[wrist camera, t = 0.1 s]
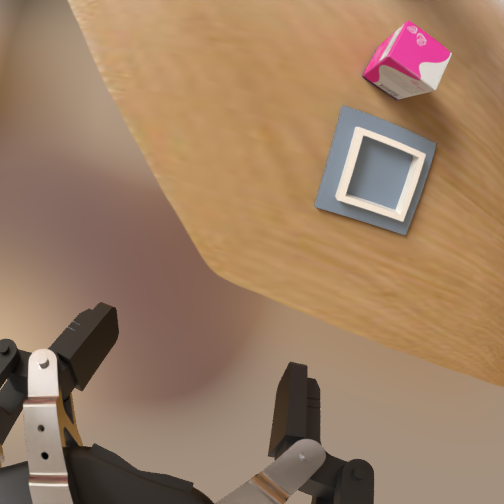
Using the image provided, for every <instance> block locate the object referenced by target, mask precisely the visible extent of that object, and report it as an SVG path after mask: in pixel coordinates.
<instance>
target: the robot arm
mask: <svg viewBox="0 0 504 504" xmlns="http://www.w3.org/2000/svg"><path fill="white" fill-rule="evenodd" d="M118 334H119V328H118V319H117V310H116V308H115V307H112V306H110V305H107V304H105V303H102V302H100V303H99V304H98V305H97V306H96V307H95V308H94V309H93V310H91V309H88V310H86V311H84V312H82V313H80V314H79V315H78V316H77V317H76V318H75V319H74V321H73V322H72V323H71V324H70V325H69V326H68V328H66V329H65V330H64V331H63V333H62V334H61V335H60V336H59V337H58V338H57V339H56V341H55V342H54V343H53V344H52V345H51V347H49V348H48V349H39V350H37V351H35V352H33V353H30V352H26V351H22V350H19V349H18V348H17V346H16V344H15V343H14V341H12V340H10V339H2V340H0V388H1V387H2V385H3V384H4V382H5V381H6V379H7V382H6V383H5V384H4V386H3V387H2V389H1V390H0V504H214V503H213V502H212V501H211V500H210V499H209V498H208V497H207V496H206V495H205V494H204V493H202V492H201V491H199V490H197V489H196V488H194V487H193V483H192V482H189V481H185V480H182V479H179V478H176V477H173V476H170V475H166V474H158V473H151V472H145V471H140V470H137V469H136V468H135V467H133V466H132V465H130V464H129V463H128V462H126V461H125V460H124V459H122V458H121V457H120V456H118V455H117V454H115V453H113V452H111V451H109V450H107V449H104V448H103V447H101V446H99V445H97V444H93V446H92V447H86V446H83V443H82V440H81V437H80V435H79V432H78V429H77V425H76V418H75V412H74V405H73V398H72V393H71V392H72V390H73V389H74V388H77V389H78V390H80V391H83V390H84V388H85V386H86V385H87V383H88V382H89V380H90V379H91V377H92V376H93V375H94V373H95V372H96V370H97V369H98V367H99V366H100V364H101V363H102V361H103V360H104V358H105V357H106V355H107V354H108V353H109V351H110V350H111V348H112V347H113V346H114V344H115V343H116V341H117V338H118ZM22 410H23V417H24V431H25V443H26V451H27V458H28V461H25V462H22V463H18V464H15V465H11V466H7V467H3V468H2V467H1V463H3V462H4V455H3V449H2V445H3V443H4V441H5V439H6V437H7V435H8V434H9V432H10V430H11V428H12V426H13V425H14V423H15V421H16V420H17V418H18V416H19V415H20V413H21V411H22ZM268 456H269V457H275V460H274V462H273V463H271V464H270V465H269V466H268V467H266V468H265V469H264V470H263V471H261V472H260V473H259V474H257V475H255V476H254V477H252V478H251V479H250V480H248V481H247V482H245V483H244V484H243V485H241V486H240V487H238V488H237V489H236V490H234V491H233V492H232V493H230V494H228V495H227V496H225V497H224V498H223V499H221V500H220V501H218V502H216V503H215V504H284V503H285V502H286V501H287V499H288V498H289V497H290V496H291V495H292V494H293V493H294V492H296V491H297V490H299V491H301V492H304V493H306V494H309V495H312V502H311V504H373V503H374V471H373V468H372V466H371V465H370V464H369V463H368V462H367V461H365V460H362V459H354V460H351V461H349V462H346V461H344V460H341V459H338V458H336V457H333V456H331V455H330V454H328V453H327V452H326V451H325V450H324V448H323V447H322V445H321V442H320V388H319V386H318V384H317V381H316V380H315V379H312V378H307V365H303V364H298V363H294V362H290V363H289V364H288V366H287V368H286V370H285V372H284V374H283V376H282V378H281V380H280V382H279V385H278V388H277V393H276V400H275V409H274V416H273V424H272V431H271V438H270V445H269V452H268Z"/></svg>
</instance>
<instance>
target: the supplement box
mask: <svg viewBox="0 0 504 504" xmlns="http://www.w3.org/2000/svg"><path fill="white" fill-rule="evenodd" d="M451 55H452V53H451V52H450V51H448V50H447V49H446V48H445V47H444V46H442V45H441V44H440V43H439V42H437V41H436V40H435V39H434V38H432V37H431V36H430V35H428V34H427V33H426V32H424V31H423V30H422V29H420V28H419V27H417V26H416V25H415V24H413V23H412V22H410V21H409V20H408V21H407V22H405V23H404V24H403V25H402V26H401V27H400V28H399V29H397V30H396V31H395V32H394V33H393V34H392V35H391V36H390V37H389V38H387V39H386V40H385V41H384V42H383V43H382V44H381V45H380V46H379V47H378V48H377V50H376V52H375V54H374V55H373V57H372V59H371V61H370V62H369V64H368V66H367V68H366V69H365V71H364V73H363V75H362V77H363V78H365V79H366V80H368V81H369V82H371V83H372V84H374V85H375V86H377V87H378V88H380V89H382V90H383V91H384V92H386V93H387V94H389V95H390V96H392V97H393V98H395V99H396V100H399V99H403V98H407V97H411V96H415V95H420V94H424V93H429V92H434V91H436V89H437V87H438V85H439V82H440V80H441V78H442V76H443V73H444V71H445V69H446V67H447V64H448V62H449V60H450V58H451Z"/></svg>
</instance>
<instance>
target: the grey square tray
mask: <svg viewBox="0 0 504 504" xmlns="http://www.w3.org/2000/svg"><path fill="white" fill-rule="evenodd" d="M436 145H437V144H436V143H434V142H432V141H430V140H428V139H426V138H424V137H422V136H420V135H418V134H416V133H413V132H411V131H409V130H407V129H404V128H402V127H400V126H397V125H395V124H393V123H390V122H388V121H385V120H383V119H380V118H377V117H375V116H372V115H370V114H367V113H364V112H361V111H358V110H356V109H353V108H350V107H347V106H344V105H342V107H341V111H340V114H339V118H338V122H337V126H336V130H335V134H334V137H333V141H332V145H331V148H330V152H329V156H328V159H327V163H326V166H325V170H324V173H323V177H322V180H321V184H320V187H319V190H318V194H317V197H316V201H315V204H314V207H316V208H319V209H323V210H326V211H330V212H333V213H337V214H340V215H343V216H347V217H350V218H353V219H356V220H360V221H363V222H366V223H369V224H372V225H375V226H378V227H381V228H384V229H387V230H390V231H393V232H396V233H399V234H402V235H406V233H407V230H408V228H409V225H410V223H411V220H412V218H413V215H414V213H415V210H416V207H417V204H418V202H419V199H420V196H421V193H422V190H423V187H424V184H425V181H426V178H427V175H428V172H429V169H430V166H431V162H432V159H433V156H434V152H435V149H436Z"/></svg>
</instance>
